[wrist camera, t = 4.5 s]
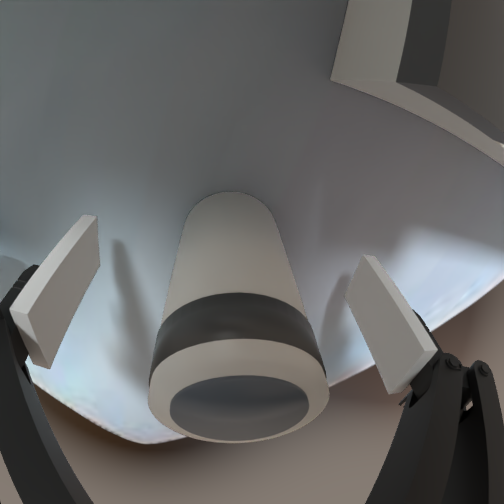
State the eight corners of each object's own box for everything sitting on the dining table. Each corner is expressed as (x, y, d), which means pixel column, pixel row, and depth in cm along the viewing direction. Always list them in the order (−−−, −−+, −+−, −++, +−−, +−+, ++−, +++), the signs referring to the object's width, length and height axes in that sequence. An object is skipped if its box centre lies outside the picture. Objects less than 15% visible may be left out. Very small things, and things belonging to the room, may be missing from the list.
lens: (178, 269, 17) (151, 440, 8) (187, 183, 14) (137, 350, 5) (265, 279, 17) (297, 445, 9) (288, 199, 15) (364, 364, 6)
